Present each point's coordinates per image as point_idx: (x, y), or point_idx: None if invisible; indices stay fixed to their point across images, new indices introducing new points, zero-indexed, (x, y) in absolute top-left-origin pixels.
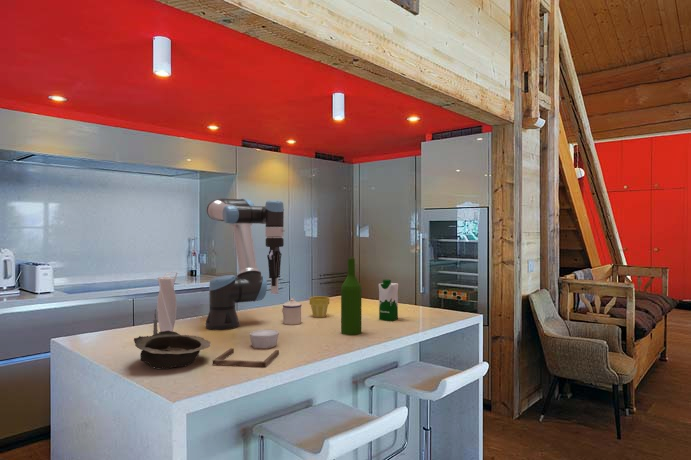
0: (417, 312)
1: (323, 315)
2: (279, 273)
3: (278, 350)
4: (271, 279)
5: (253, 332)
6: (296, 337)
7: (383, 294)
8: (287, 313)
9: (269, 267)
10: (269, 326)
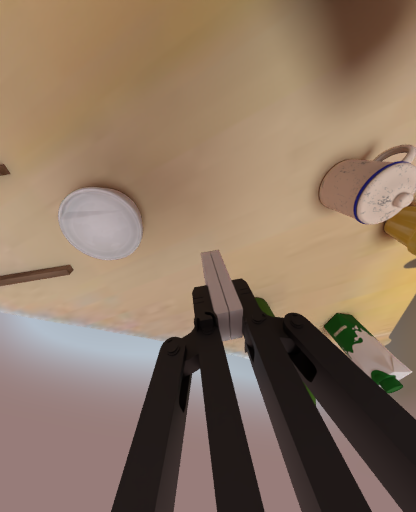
0: (374, 333)
1: (387, 233)
2: (289, 354)
3: (67, 274)
4: (213, 309)
5: (97, 193)
6: (202, 248)
7: (364, 358)
8: (344, 186)
9: (128, 471)
10: (306, 135)
